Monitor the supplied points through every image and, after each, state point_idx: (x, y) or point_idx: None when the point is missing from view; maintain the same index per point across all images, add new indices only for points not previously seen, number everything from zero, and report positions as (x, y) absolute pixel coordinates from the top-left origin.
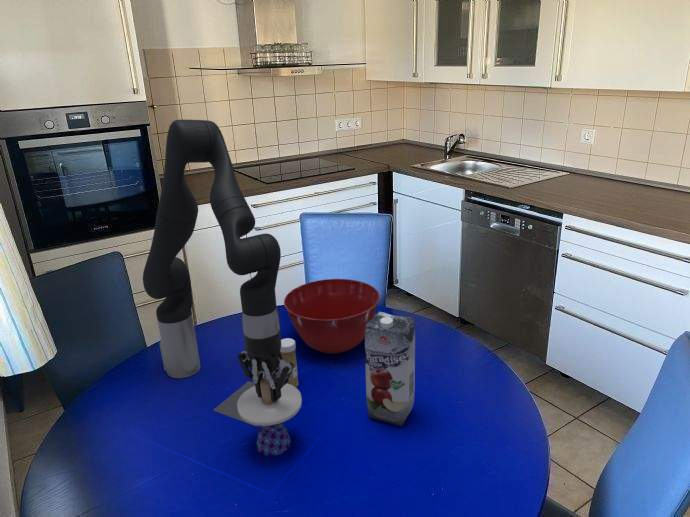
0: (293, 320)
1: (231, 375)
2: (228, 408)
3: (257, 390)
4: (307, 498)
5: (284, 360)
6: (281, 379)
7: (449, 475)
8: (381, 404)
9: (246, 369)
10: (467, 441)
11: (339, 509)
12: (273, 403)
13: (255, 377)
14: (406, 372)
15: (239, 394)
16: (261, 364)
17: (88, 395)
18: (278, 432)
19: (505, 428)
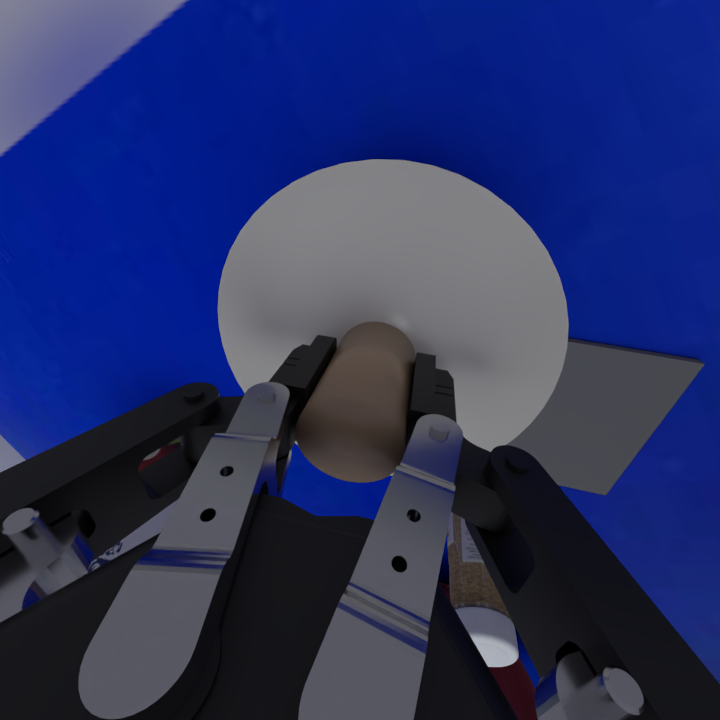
0: (518, 709)
1: (678, 512)
2: (637, 383)
3: (431, 379)
4: (188, 88)
5: (479, 572)
6: (111, 441)
7: (13, 305)
8: (167, 446)
9: (550, 536)
10: (56, 396)
11: (93, 90)
12: (341, 339)
13: (431, 456)
14: None
15: (616, 444)
16: (289, 622)
17: None
18: None
19: (39, 434)
